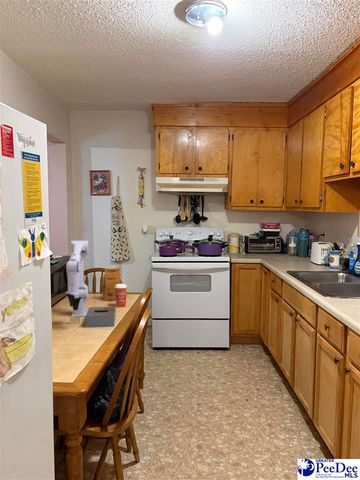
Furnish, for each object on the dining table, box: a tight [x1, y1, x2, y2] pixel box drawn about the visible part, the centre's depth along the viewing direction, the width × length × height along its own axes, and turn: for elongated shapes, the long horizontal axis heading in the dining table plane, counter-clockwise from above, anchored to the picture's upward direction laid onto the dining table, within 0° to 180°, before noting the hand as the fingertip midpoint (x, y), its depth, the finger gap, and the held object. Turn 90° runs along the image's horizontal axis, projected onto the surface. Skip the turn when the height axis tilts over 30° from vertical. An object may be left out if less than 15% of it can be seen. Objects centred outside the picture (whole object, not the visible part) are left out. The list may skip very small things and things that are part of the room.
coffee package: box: [102, 267, 122, 302], centre depth 243 cm, size 10×12×22 cm
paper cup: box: [115, 283, 128, 308], centre depth 227 cm, size 8×8×14 cm
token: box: [69, 315, 81, 325], centre depth 192 cm, size 2×5×4 cm, turn 98°
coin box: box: [84, 306, 117, 328], centre depth 195 cm, size 17×15×6 cm
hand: (73, 308), depth 188 cm, fingers open, 7 cm apart
